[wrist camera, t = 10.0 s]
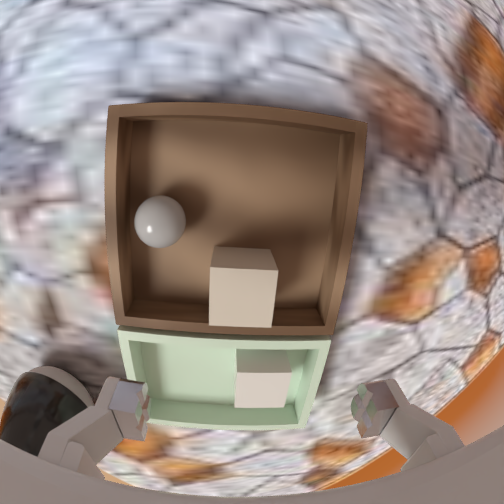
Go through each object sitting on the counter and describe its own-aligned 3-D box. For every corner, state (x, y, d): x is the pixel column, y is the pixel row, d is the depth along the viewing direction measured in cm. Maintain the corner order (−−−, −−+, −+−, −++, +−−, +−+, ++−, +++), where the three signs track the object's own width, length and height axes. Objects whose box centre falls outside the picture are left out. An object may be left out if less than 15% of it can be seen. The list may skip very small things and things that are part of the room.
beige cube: (214, 246, 21) (209, 267, 17) (270, 249, 21) (278, 270, 17) (212, 296, 22) (208, 325, 18) (264, 299, 22) (271, 327, 19)
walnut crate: (127, 112, 18) (108, 105, 15) (347, 126, 19) (367, 122, 16) (129, 302, 23) (116, 324, 19) (320, 311, 24) (332, 334, 21)
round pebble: (142, 191, 19) (126, 199, 16) (190, 193, 19) (182, 200, 16) (143, 238, 20) (128, 253, 17) (188, 240, 21) (181, 257, 17)
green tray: (130, 307, 23) (117, 329, 20) (319, 316, 24) (331, 340, 21) (145, 397, 26) (138, 421, 23) (298, 403, 28) (304, 427, 24)
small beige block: (235, 340, 23) (236, 372, 20) (283, 341, 24) (292, 372, 20) (233, 375, 25) (234, 407, 21) (277, 375, 25) (284, 407, 21)
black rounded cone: (109, 425, 28) (79, 525, 14) (39, 397, 26) (-6, 481, 12) (106, 372, 25) (55, 495, 11) (25, 338, 24) (-45, 431, 9)
